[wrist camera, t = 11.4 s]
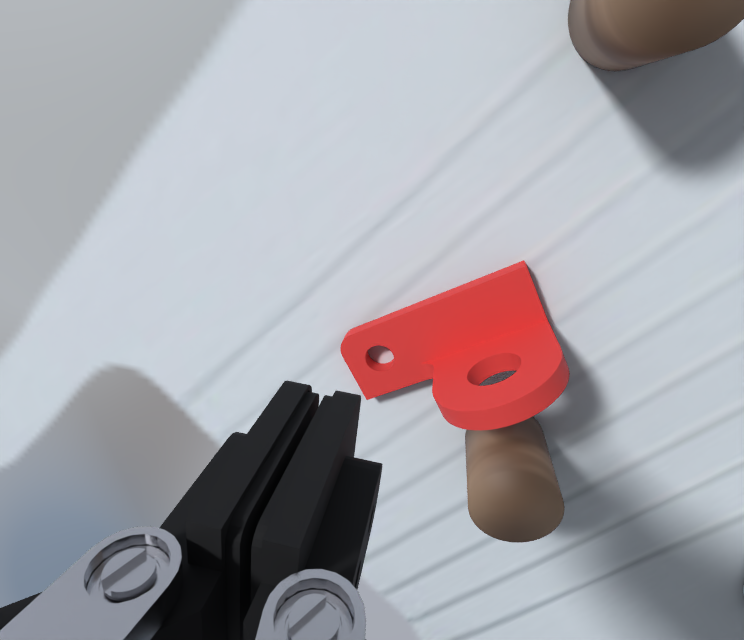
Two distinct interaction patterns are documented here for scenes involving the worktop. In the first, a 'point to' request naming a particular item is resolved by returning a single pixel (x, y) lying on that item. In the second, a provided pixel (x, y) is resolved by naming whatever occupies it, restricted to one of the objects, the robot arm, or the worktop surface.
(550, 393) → the bracket
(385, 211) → the worktop surface
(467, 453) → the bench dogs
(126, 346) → the worktop surface
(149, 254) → the worktop surface
